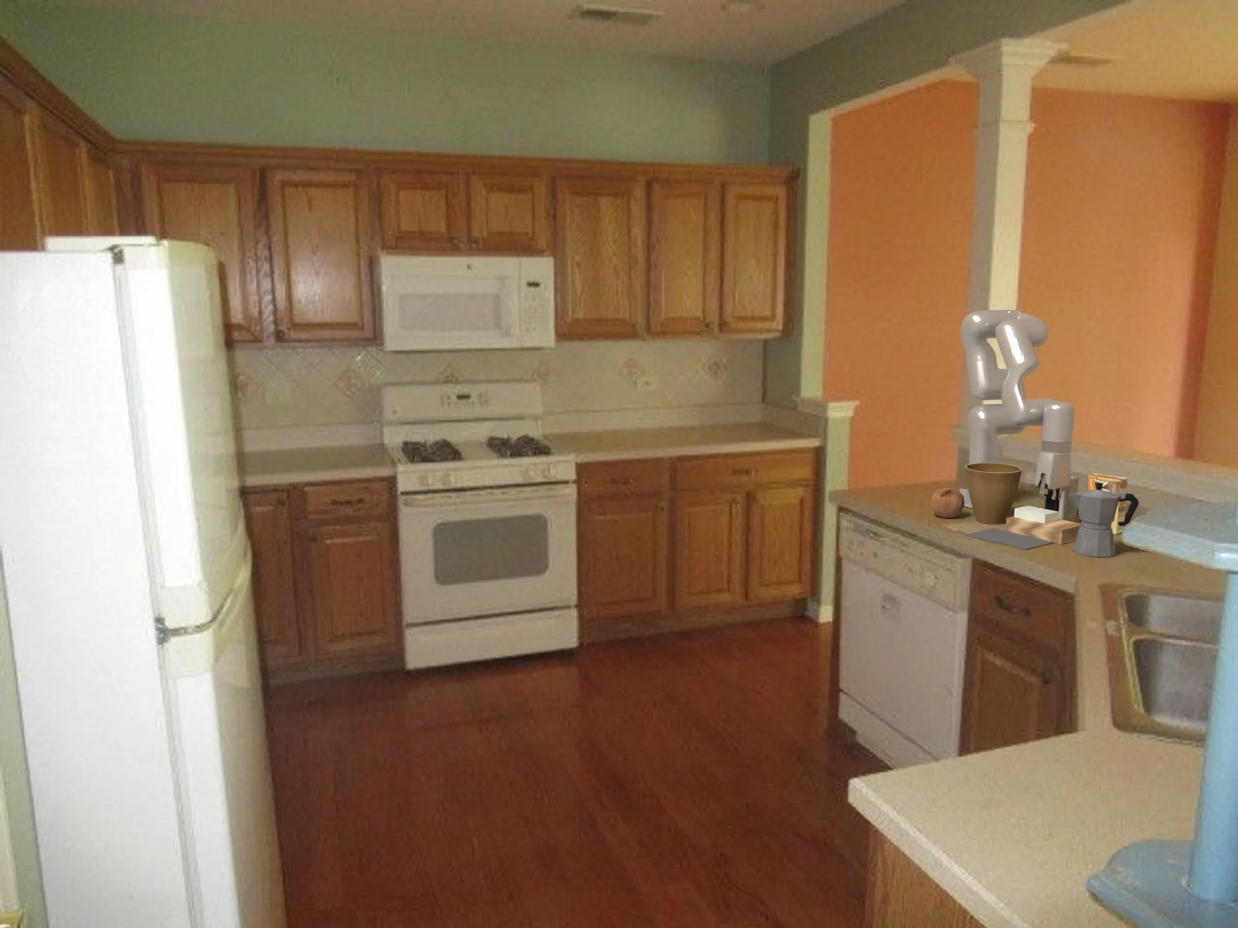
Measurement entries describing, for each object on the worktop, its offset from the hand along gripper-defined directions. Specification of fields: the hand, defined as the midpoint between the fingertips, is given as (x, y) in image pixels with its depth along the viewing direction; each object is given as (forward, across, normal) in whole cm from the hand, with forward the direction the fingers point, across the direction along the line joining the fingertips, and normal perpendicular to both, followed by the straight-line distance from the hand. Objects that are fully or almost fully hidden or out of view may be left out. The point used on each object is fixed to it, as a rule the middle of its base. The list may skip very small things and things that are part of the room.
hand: (1051, 512), depth 244 cm
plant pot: (+5, +6, -15) cm, 17 cm away
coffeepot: (+5, +13, +21) cm, 25 cm away
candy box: (+5, -10, +9) cm, 15 cm away
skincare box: (+5, -16, -6) cm, 17 cm away
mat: (+5, +19, 0) cm, 19 cm away
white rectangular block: (+1, +7, 0) cm, 7 cm away
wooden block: (+5, +8, +3) cm, 9 cm away
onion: (+5, +10, -26) cm, 29 cm away
